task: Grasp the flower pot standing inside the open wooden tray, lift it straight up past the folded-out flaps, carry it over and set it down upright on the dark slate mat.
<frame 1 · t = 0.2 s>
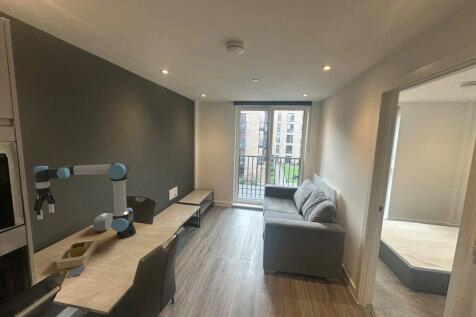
hand: (46, 215, 148), 28 cm above the table, fingers open, 13 cm apart
wooden tray: (79, 257, 143), on the table
alarm clock: (104, 228, 189), on the table
flower pot: (79, 257, 143), resting in wooden tray
mat: (74, 272, 127), on the table
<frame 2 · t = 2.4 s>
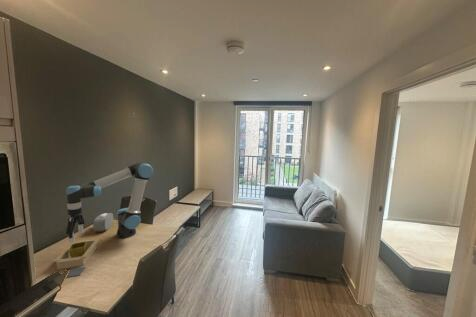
hand: (76, 237, 142), 15 cm above the table, fingers open, 13 cm apart
nothing on the table moved.
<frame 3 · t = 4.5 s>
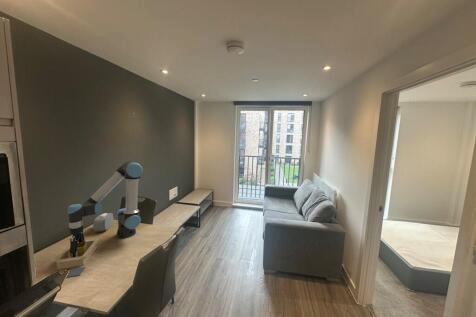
hand: (78, 256, 143), 0 cm above the table, fingers closed on flower pot, 9 cm apart
flower pot: (79, 257, 143), resting in wooden tray, touching gripper
everything else where it was.
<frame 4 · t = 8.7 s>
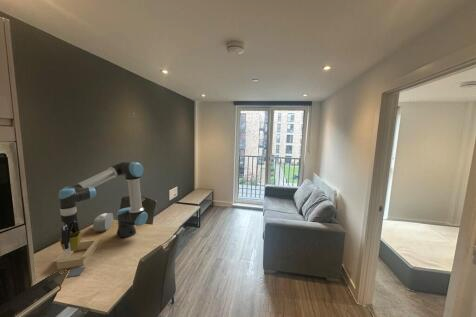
hand: (72, 248, 125), 16 cm above the table, fingers closed on flower pot, 9 cm apart
flower pot: (72, 249, 125), point 15 cm above the table, touching gripper
everything else where it was.
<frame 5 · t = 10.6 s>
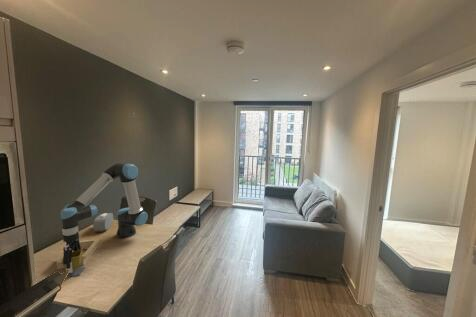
hand: (73, 267, 126), 3 cm above the table, fingers closed on flower pot, 9 cm apart
flower pot: (73, 268, 126), point 3 cm above the table, touching gripper
everything else where it was.
when the fingers open (2 cm above the table, at t = 12.0 s): flower pot stays where it is, resting on mat.
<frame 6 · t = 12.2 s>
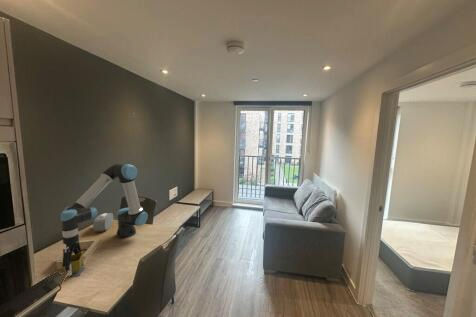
hand: (73, 269, 126), 3 cm above the table, fingers open, 10 cm apart
flower pot: (74, 271, 127), point 1 cm above the table, touching gripper, mat
everything else where it was.
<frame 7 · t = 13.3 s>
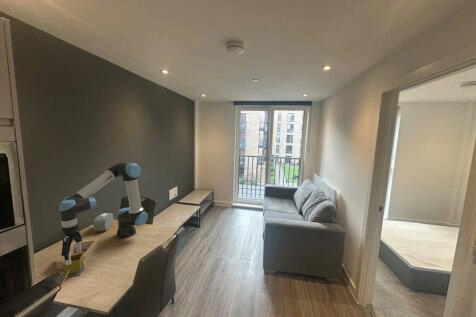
hand: (73, 257, 126), 10 cm above the table, fingers open, 13 cm apart
flower pot: (74, 271, 127), resting on mat
everything else where it was.
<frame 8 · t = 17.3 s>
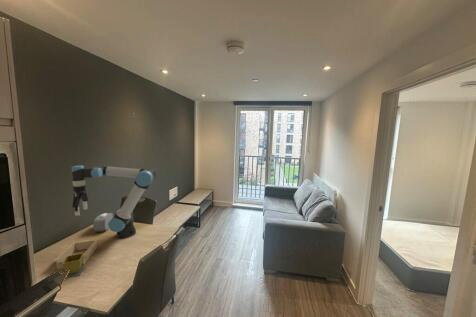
hand: (81, 212, 158), 27 cm above the table, fingers open, 13 cm apart
nothing on the table moved.
at the end: flower pot inside the target area on the mat (0.5 cm from its centre), point 0.4 cm above the mat's base; flower pot tilted 0°; the gripper is holding nothing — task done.
